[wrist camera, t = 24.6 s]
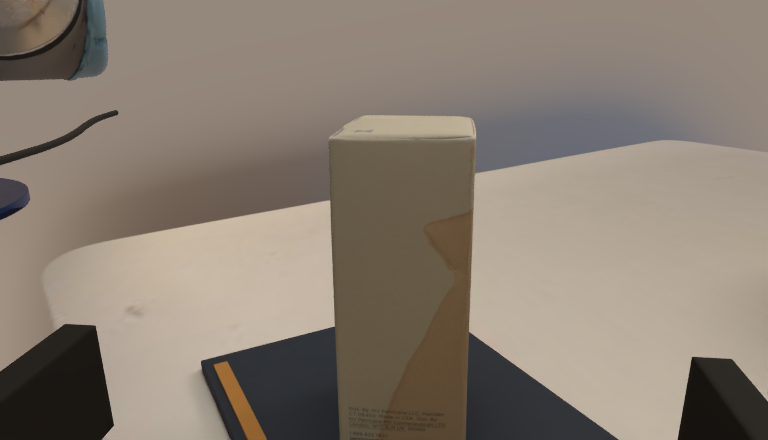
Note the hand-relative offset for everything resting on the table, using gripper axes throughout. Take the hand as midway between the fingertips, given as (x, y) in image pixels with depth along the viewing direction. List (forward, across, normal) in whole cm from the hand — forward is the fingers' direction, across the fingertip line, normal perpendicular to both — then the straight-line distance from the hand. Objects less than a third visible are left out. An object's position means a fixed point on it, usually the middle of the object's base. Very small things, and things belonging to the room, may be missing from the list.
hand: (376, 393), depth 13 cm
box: (+7, 0, -6) cm, 10 cm away
